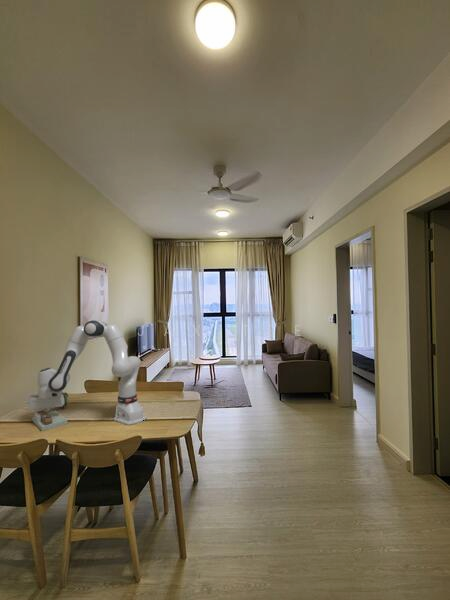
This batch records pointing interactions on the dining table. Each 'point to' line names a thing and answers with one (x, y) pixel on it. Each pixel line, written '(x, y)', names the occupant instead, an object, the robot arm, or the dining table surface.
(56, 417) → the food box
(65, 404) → the food container
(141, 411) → the robot arm
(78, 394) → the dining table surface
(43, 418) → the brown long bar
